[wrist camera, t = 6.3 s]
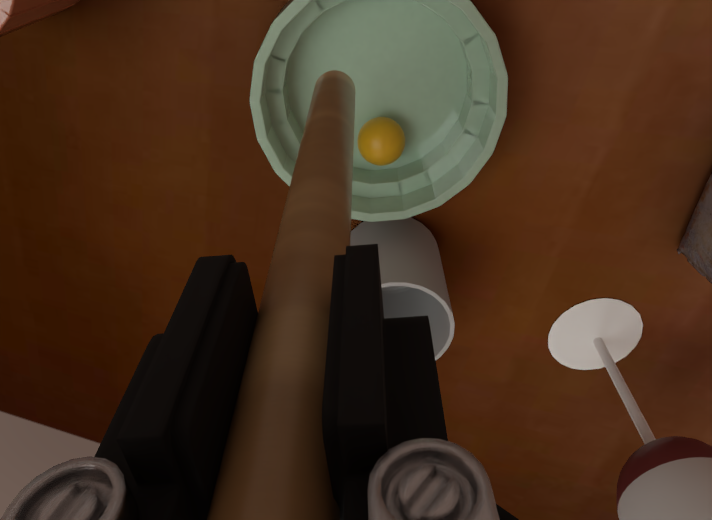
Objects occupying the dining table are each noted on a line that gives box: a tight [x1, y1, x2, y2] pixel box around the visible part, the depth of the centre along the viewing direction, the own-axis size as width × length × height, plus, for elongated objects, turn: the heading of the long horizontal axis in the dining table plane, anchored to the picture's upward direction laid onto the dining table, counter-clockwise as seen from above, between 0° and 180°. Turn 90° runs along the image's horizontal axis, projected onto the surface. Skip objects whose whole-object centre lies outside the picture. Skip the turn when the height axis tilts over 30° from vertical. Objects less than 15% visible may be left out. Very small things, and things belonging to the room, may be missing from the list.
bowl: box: [249, 0, 508, 222], centre depth 34 cm, size 14×14×5 cm
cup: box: [350, 217, 455, 360], centre depth 40 cm, size 7×10×9 cm
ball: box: [357, 117, 405, 166], centre depth 36 cm, size 3×3×3 cm
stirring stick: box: [207, 70, 356, 520], centre depth 14 cm, size 2×2×20 cm
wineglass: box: [548, 298, 712, 520], centre depth 39 cm, size 8×9×20 cm
